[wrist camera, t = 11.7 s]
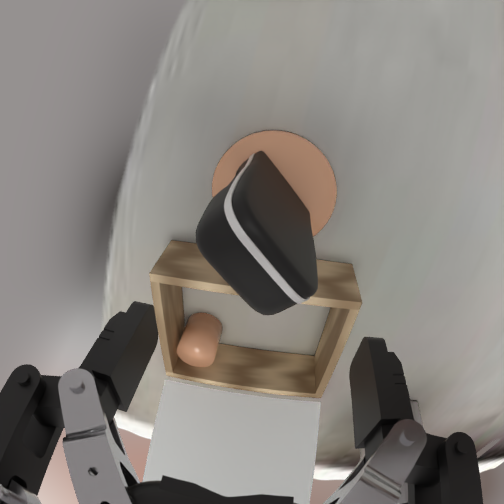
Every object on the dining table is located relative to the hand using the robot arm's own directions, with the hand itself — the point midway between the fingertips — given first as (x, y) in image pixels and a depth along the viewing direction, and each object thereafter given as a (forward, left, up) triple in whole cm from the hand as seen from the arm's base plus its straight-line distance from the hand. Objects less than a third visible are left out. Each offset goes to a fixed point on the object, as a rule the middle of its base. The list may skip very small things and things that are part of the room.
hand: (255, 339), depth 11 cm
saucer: (0, 0, -16) cm, 16 cm away
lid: (+1, +22, -4) cm, 23 cm away
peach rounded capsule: (+6, +17, -16) cm, 24 cm away
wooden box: (+1, +13, -16) cm, 21 cm away
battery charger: (+1, 0, -16) cm, 16 cm away
